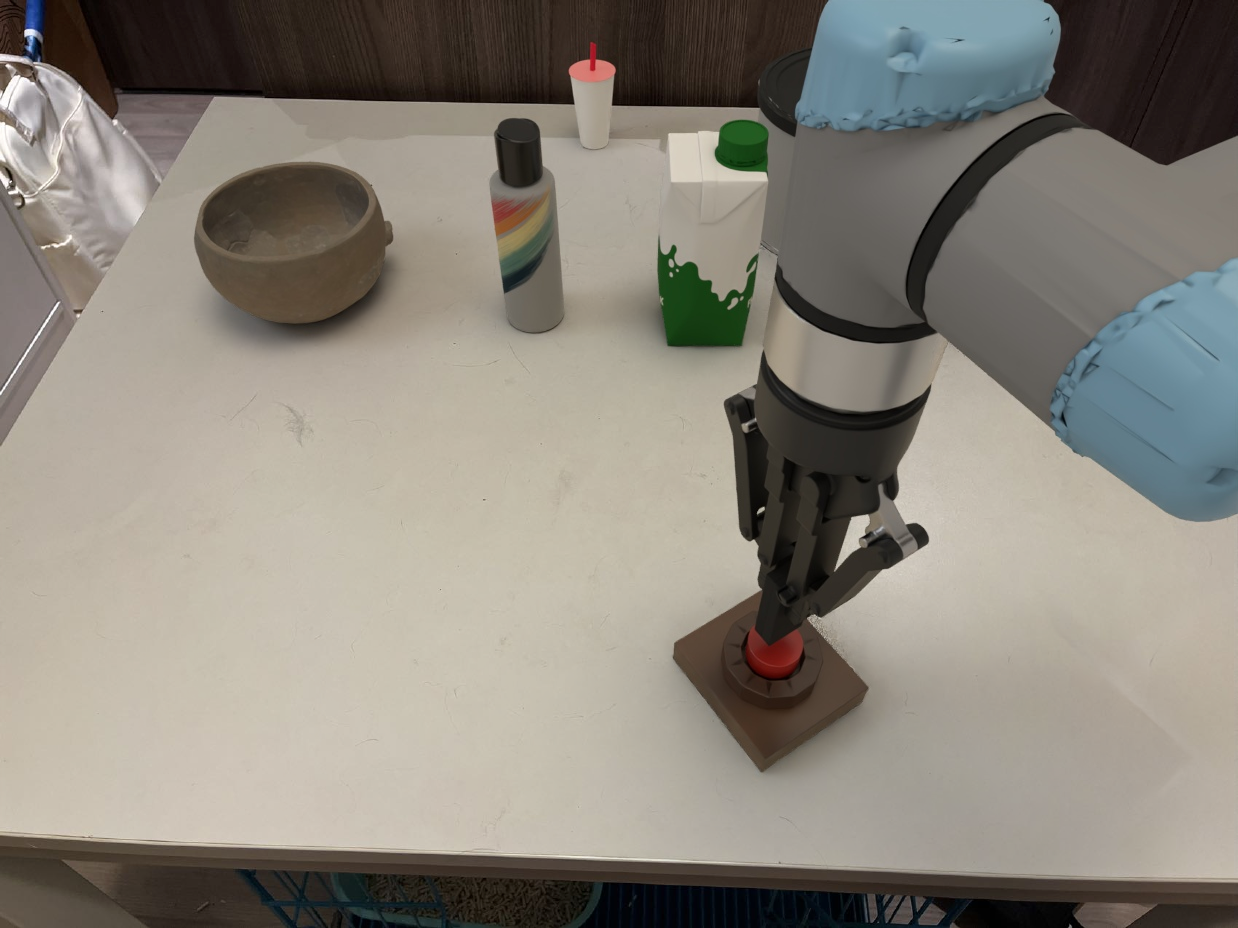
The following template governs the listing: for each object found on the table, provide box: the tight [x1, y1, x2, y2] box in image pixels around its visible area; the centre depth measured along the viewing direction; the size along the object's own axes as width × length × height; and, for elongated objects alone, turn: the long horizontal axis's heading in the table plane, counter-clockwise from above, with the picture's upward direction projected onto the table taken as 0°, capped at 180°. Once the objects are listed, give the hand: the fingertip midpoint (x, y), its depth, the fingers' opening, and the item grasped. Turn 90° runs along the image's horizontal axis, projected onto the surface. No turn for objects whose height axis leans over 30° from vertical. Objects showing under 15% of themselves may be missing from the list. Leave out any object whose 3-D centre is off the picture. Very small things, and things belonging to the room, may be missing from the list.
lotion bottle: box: [488, 117, 565, 334], centre depth 80 cm, size 6×6×20 cm
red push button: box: [746, 625, 803, 679], centre depth 59 cm, size 4×4×2 cm
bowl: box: [193, 161, 394, 324], centre depth 87 cm, size 17×18×10 cm
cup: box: [568, 41, 617, 150], centre depth 104 cm, size 5×5×12 cm
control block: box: [672, 589, 870, 773], centre depth 61 cm, size 10×9×4 cm
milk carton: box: [656, 119, 769, 347], centre depth 80 cm, size 9×9×20 cm
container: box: [756, 46, 813, 256], centre depth 92 cm, size 19×19×15 cm
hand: (778, 627), depth 57 cm, fingers closed
